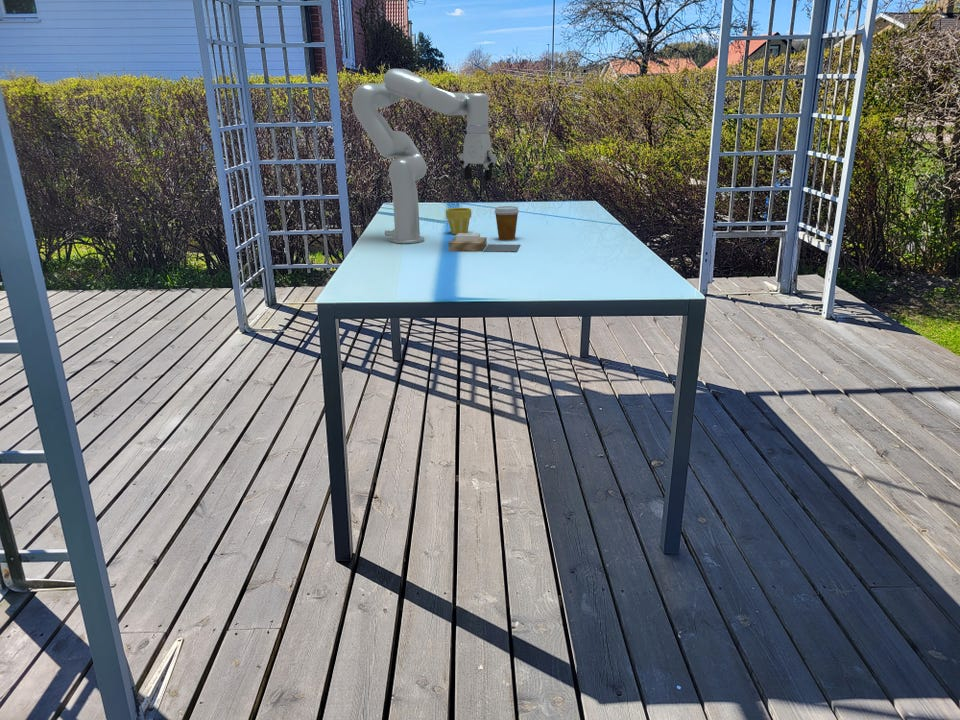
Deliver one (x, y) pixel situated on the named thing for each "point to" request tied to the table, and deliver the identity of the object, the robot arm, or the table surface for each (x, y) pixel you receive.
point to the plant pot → (458, 219)
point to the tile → (468, 237)
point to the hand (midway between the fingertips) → (477, 180)
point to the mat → (501, 248)
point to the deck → (468, 245)
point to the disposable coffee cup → (506, 222)
